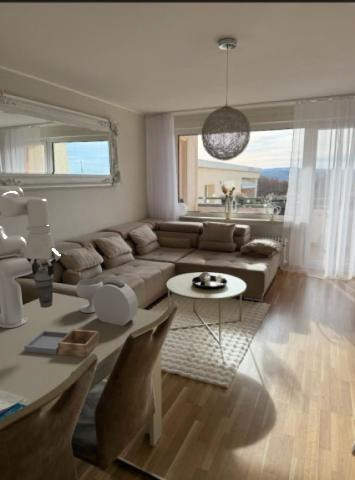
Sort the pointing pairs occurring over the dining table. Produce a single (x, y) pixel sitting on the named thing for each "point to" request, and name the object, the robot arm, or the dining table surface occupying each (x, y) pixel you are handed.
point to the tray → (45, 342)
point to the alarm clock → (115, 303)
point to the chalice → (88, 292)
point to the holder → (77, 349)
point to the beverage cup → (44, 287)
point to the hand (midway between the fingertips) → (43, 273)
